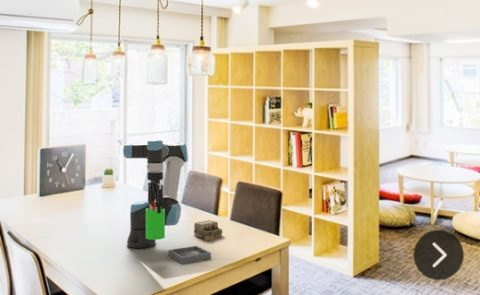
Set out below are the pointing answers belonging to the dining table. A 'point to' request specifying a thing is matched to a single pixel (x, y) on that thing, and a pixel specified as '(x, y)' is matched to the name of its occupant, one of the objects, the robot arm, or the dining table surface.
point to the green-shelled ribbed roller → (155, 223)
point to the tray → (189, 254)
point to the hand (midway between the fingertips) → (155, 218)
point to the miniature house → (207, 230)
